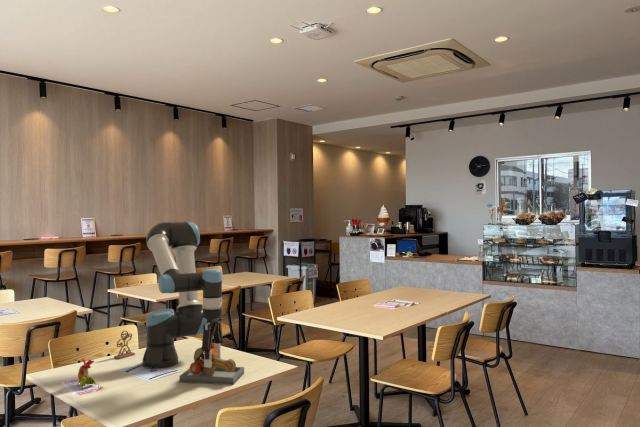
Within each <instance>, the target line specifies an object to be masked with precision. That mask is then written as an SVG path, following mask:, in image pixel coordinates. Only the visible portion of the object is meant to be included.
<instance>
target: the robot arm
mask: <svg viewBox="0 0 640 427" xmlns="http://www.w3.org/2000/svg"><path fill="white" fill-rule="evenodd" d="M200 234H201V233H200V230H199V226H197V224H196V223H194V222H193V221H191V222H188V221H173V222H172V221H165V222H164V221H162V222H159V223H156V224H154V225H153V226H152V227H151V228H150V229H149V231H148V232H147V235H146V239H145V243H146V246H147V248H148V249H149V251H151V252H152V256H153V257H154V260H155V264H156V266H157V269H158V272H159V274H160V275H159V276H158V284H157V285H158V291H159V292H160V293H161V294H176V293H178V299H179V304H178V306H177V307H176V310H174V309H173V308H161V309H157V310H154V311H151V312H150V313H148V314H147V316H146V322H145V323H146V324H145V327H146V348H145V350H144V354H143V358H142V366H143V367H144V368H146V367H148V368H147V369H164V368H169V367H172V366H175V365H177V364H178V363H179V355H178V353H177V352H178V351H177V350H176V345H175V339H178V338H185V337H192V336H194V337H195V336H198V335H199V336H200V335H202V341H201V342H202V343H201V347H202V351H204V353H203V354H204V367H212V356H211V350H210V349H211V343H213V341H214V343H213V344H214V345H215V349H216V351H217V353H218V355H216V357H217V358H220V359H222V356H221V354H222V352H221V350H222V349H221V344H223V343H224V340H223V331H222V330H223V329H222V317H223V308H222V306H223V304H222V303H223V301H224V300H223V299H222V298H223V294H222V293H223V284H222V283H223V275H222V270H221V269H219V268H208V269H207V268H206V269H204V270H203V271H198V272H197V271H196V270H197V269H196V261H195V251H197V248H198V247H197V246H199V244H200V242H201V239H200V238H201V236H200ZM174 254H175V258H174ZM199 291H202V302H200V301H199Z"/></svg>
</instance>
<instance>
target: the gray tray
mask: <svg viewBox="0 0 640 427" xmlns="http://www.w3.org/2000/svg"><path fill="white" fill-rule="evenodd" d="M244 374H245V366H236V368H235V370H234V371H233V372H227V371H226V370H225V369H224V368H219V367H216V369H215V371H214V375H212V376H208V374H207V373H203V372H201V371H200V373H199V374H196V375H193V374H192V373H191V372H190V367H189V368H188V369H186V370H185V371H184V372H182V374H180V375H179V383H188V384H189V383H190V384H191V383H192V384H208V385H210V384H211V385H231V386H234V385H235V384H236V382H238V381H239V379H240V378H241V377H242V376H243V375H244Z"/></svg>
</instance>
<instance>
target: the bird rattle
mask: <svg viewBox="0 0 640 427" xmlns="http://www.w3.org/2000/svg"><path fill="white" fill-rule="evenodd" d="M80 360H81V361H82V362H83V364H82V365H80V366H79V369H78V373H77V379H78V380H77V381H78V384H79V383H80V385H79V387H81V388H82V387H83V386H84V387H85V386H86V385H88V384H93V385H96V384H97V383H96V381H95V379H94V378H93V377H92V376H89V369H91V368H92V367H91V365H92V364H93V363H94V362H95V360H92V359H89V360H87V361H86V359H85V358H84V357H82V358H81V359H80Z"/></svg>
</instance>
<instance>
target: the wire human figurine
mask: <svg viewBox="0 0 640 427" xmlns="http://www.w3.org/2000/svg"><path fill="white" fill-rule="evenodd" d="M128 338H129V339H128ZM132 338H133V334H132V333H129V332H128V331H127V330H122V331H121V333H120V339H118V340H117V342H116V347H117V348H120V349H119V351H118V354H117V355H113V359H115V360H122V359H126V358H128V357H133V356H135V355H136V352H133V351H131V349H130V347H129V346H128V344H129V342H130V341H131V340H132ZM127 339H128V340H127ZM120 341H123V342H120ZM126 347H127V349H126ZM122 349H123V350H122Z"/></svg>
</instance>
